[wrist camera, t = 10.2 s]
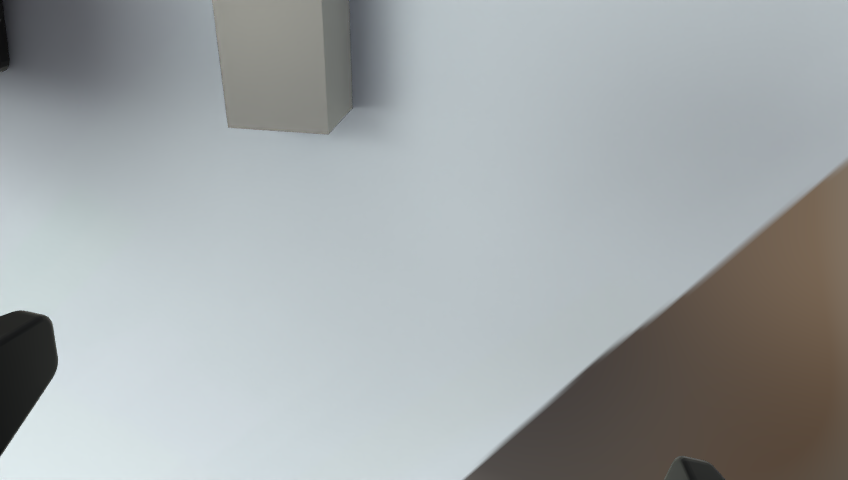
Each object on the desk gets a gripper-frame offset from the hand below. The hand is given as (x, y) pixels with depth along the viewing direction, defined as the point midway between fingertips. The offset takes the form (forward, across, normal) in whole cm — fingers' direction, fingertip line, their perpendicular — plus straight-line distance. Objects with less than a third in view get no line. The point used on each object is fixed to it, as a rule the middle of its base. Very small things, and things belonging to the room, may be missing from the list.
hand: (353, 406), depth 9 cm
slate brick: (+13, +5, -3) cm, 14 cm away
